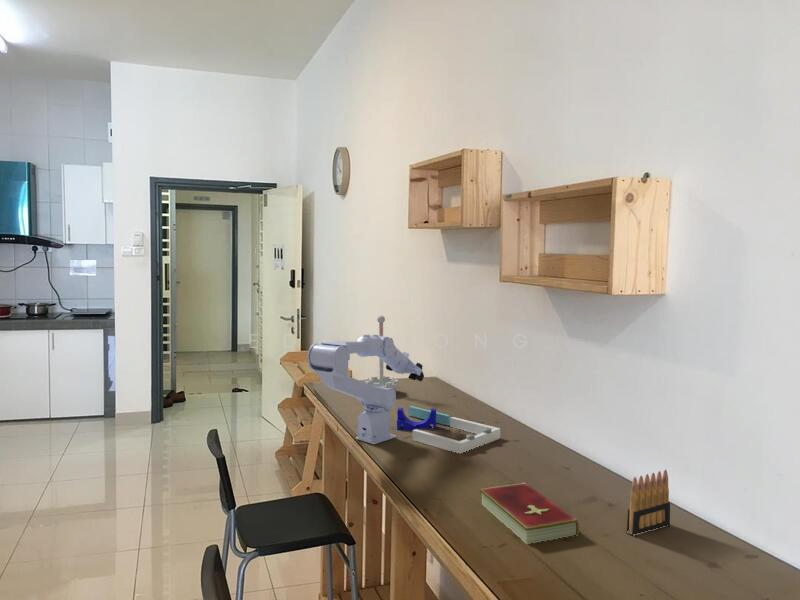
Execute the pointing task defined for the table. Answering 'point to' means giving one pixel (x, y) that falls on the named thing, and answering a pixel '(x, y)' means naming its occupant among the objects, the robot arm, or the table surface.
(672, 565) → the table surface
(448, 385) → the table surface
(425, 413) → the gate
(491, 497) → the hardcover book
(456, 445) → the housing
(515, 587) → the table surface
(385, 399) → the robot arm
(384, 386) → the flag stand
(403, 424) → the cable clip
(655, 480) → the ammunition clip
